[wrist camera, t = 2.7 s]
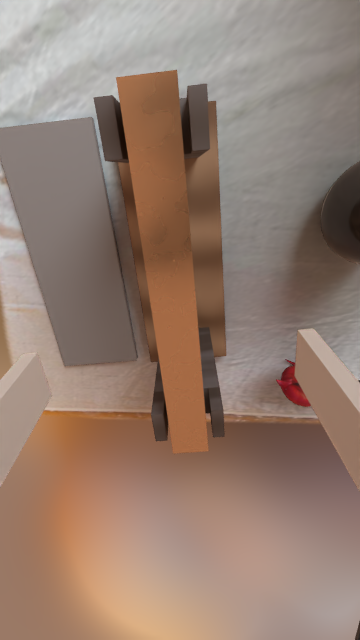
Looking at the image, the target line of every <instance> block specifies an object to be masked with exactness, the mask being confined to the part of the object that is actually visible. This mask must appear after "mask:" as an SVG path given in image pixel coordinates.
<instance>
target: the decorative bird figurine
mask: <svg viewBox="0 0 360 640" xmlns="http://www.w3.org/2000/svg"><path fill="white" fill-rule="evenodd" d="M285 360H286V359H285ZM287 361H288V362H290V363H291V364H292V365H293V366H290V367H288V368H286V369H285V370H284V372H283V373H282V377H281V380H277V379H276V381H277V382H278V384H279V385H280V386H281V389H282V391H283V393H284V394H285V396H286V397H287V398H288V399H289V400H290V401H292V402H293V403H295V404H297V405H300V406H305V407H308V406H311V404H310V403H309V401H308V399H307V397H306V395H305V394H304V392H303V390H302V388H301V387H300V385H299V383H298V381H297V379H296V378H295V363H294V362H291V361H289V360H287Z"/></svg>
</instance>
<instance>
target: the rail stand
mask: <svg viewBox="0 0 360 640" xmlns="http://www.w3.org/2000/svg"><path fill="white" fill-rule="evenodd" d="M179 101H180V113H181V126H182V138H183V150H184V162H185V174H186V186H187V198H188V210H189V222H190V234H191V246H192V258H193V270H194V283H195V295H196V307H197V319H198V331H199V343H200V355H201V367H202V379H203V391H204V403H205V413H210V415H211V424H212V433H213V437H224V416H223V406H222V400H221V394H220V388H219V382H218V376H217V370H216V364H215V359H214V357H220V356H226V336H225V312H224V287H223V263H222V238H221V213H220V189H219V164H218V140H217V115H216V101H210V102H208V97H207V84H200V85H192V86H188V89H187V98H181V99H179ZM94 102H95V108H96V113H97V119H98V124H99V130H100V135H101V141H102V147H103V152H104V158H105V161H111V162H118V165H119V172H120V178H121V184H122V190H123V196H124V202H125V208H126V214H127V220H128V226H129V232H130V238H131V244H132V250H133V256H134V262H135V268H136V274H137V280H138V286H139V292H140V298H141V304H142V310H143V316H144V322H145V328H146V335H147V341H148V347H149V353H150V359H151V362H157V361H158V365H157V373H156V381H155V389H154V397H153V405H152V413H151V417H152V422H153V427H154V433H155V439H156V441H165V440H167V435H168V415H167V409H166V402H165V396H164V389H163V383H162V376H161V369H160V363H159V356H158V350H157V343H156V336H155V330H154V323H153V317H152V310H151V304H150V297H149V290H148V284H147V277H146V271H145V264H144V257H143V251H142V244H141V238H140V231H139V224H138V218H137V211H136V205H135V198H134V192H133V185H132V178H131V172H130V165H129V159H128V152H127V145H126V139H125V132H124V126H123V119H122V113H121V106H120V103H119V102H118V101H117V100H116V99H115V98H114V97H113V96H112V95H111V96H103V97H95V98H94Z"/></svg>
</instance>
